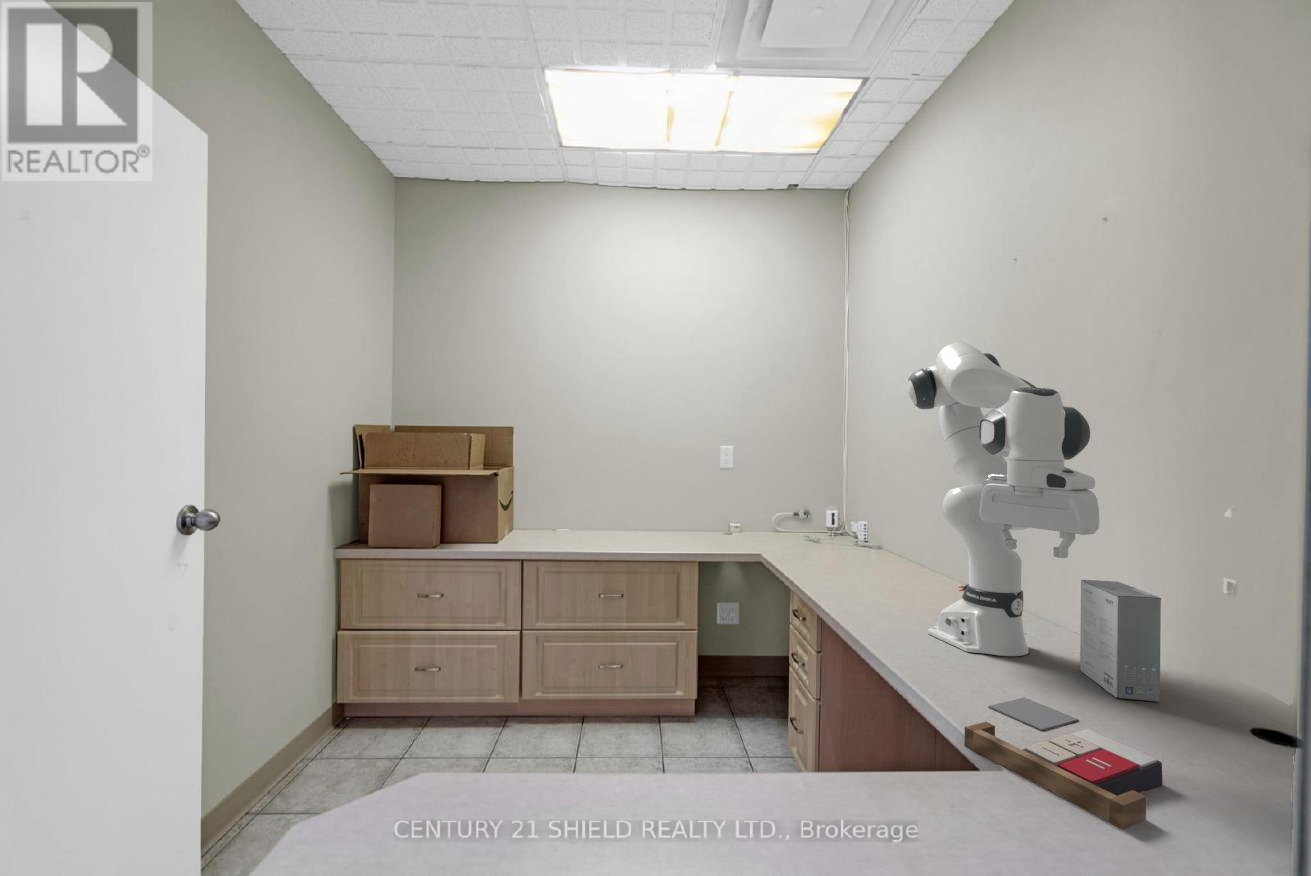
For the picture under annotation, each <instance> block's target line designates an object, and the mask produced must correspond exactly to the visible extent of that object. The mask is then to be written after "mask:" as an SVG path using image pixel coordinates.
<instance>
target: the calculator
mask: <svg viewBox="0 0 1311 876" xmlns="http://www.w3.org/2000/svg"><path fill="white" fill-rule="evenodd" d="M1022 750H1024V751H1026V752H1028V753H1030V754H1032V755H1034V756H1036V757H1038V758H1040V759H1042V760H1044V761H1046V762H1048V763H1050V764H1052V765H1055V766H1057V767H1059V768H1061V769H1063V770H1065V771H1067V772H1069V773H1071V774H1073V775H1075V776H1077V777H1079V778H1081V779H1083V780H1085V781H1087V782H1089V783H1092V784H1094V785H1096V786H1098V787H1100V788H1102V789H1104V790H1106V791H1108V792H1110V793H1112V794H1114V795H1116V796H1118V795H1121V794H1123V793H1126V792H1129V791H1131V790H1133V791H1136V792H1138V793H1140V792H1147V791H1150V790H1153V789H1157V788H1160V787H1163V763H1162V762H1161V761H1160V760H1157V758H1155V757H1153V756H1151V755H1148V754H1145V753H1143V752H1141V751H1139V750H1136V749H1134V748H1132V747H1130V746H1127V745H1125V744H1122V743H1120V742H1118V741H1116V740H1114V739H1111V738H1108V737H1107V736H1104V735H1102V734H1100V733H1097V732H1095V731H1092V730H1090V729H1086V728H1085V729H1082V730H1080V731H1077V732H1074V733H1066V734H1063V735H1060V736H1057V737H1053V738H1051V739H1049V740H1048V741H1047V740H1045V741H1041V742H1038V743H1034V744H1031V745H1028V746H1025V748H1024V749H1022Z"/></svg>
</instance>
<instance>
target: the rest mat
mask: <svg viewBox="0 0 1311 876" xmlns="http://www.w3.org/2000/svg"><path fill="white" fill-rule="evenodd" d="M988 709H991V710H993V711H995V712H997V713H999V714H1002V715H1004V716H1006V717H1009V718H1011V719H1014V720H1016V721H1017V722H1020V723H1022V724H1024V725H1027V726H1029V727H1031V728H1034V729H1036V730H1038V731H1040V732H1043V731H1047V730H1051V729H1054V728H1058V727H1062V726H1065V725H1069V724H1072V723H1075V722H1079V718H1077V717H1074V716H1072V715H1070V714H1067V713H1064V712H1062V711H1059V710H1056V709H1054V708H1052V707H1051V706H1047V705H1044V704H1042V703H1039V702H1037V701H1035V700H1032V699H1029V698H1028V697H1020V698H1015V699H1012V700H1007V701H1003V702H999V703H996V704H991V705H988Z"/></svg>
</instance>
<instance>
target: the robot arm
mask: <svg viewBox="0 0 1311 876" xmlns="http://www.w3.org/2000/svg"><path fill="white" fill-rule="evenodd" d="M935 359H936V360H935V364H934V365H930V366H928V367H922V368H920V369H918V370H916V371H914V372H913V373H911V375H910V376H909V378H908V383H907V392H908V396H909V399H910V400H911V401H912V403H913V404H914V405H915V407H917V408H918V409H920V410H931V409H932V410H933V409H934V408H937V407H938V408H939V410H938V421H939V422H938V423H939V427H940V432H941V436H942V440H943V442H944V445H945V447H946V451H947V452H948V455H949V459H950V461H951V464H952V467H953V469H954V470H955V472H956V473H957V474H958V475H959V476H960V477H963V478H964V479H966V480H968V481H970V482H971V484H966V485H962V486H958V487H954V488H951V489H949V490H948V491H947V492H946V494H945V495H944V497H943V499H942V504H941V505H942V506H941V507H942V512H943V516H944V519H945V520H946V521H947V522H948V524H949V525H950V526H952V528H953V529H955V530H956V532H958V533H959V535H960V536H961V539H962V540H963V543H964V546H965V548H966V552H967V558H968V560H967V561H968V583H967V584H965V585H961V586H958V588H960V589H958V591H959V592H963V594H962V596H961V598H960V599H958V600H957V601H955V602H954V603H953V602H952V603H951V604H949V605H948V606H946V607H944V608H943V609H942V610H941V611H940V614H939V615H938V619H937V620H938V621H937V625H934V626H931V627H929V628H928V629H927V634H928V635H931V637H932V636H933V637H935V638H936V639H939V640H941V641H942V642H945V643H948V644H949V645H952V646H953V647H956V648H958V649H960V650H962V651H964V652H967V653H975V654H987V655H994V656H999V657H1001V656H1002V657H1020V656H1025V655H1027V654H1029V647H1028V645H1027V641H1026V637H1025V631H1024V624H1023V610H1024V591H1023V590H1022V559H1021V556H1020V555H1019V554H1018V553H1017V552H1016V551H1014V550H1016V549H1017V547H1018V546H1017V543H1018V541H1017V540H1018V539H1017V538H1016V539H1015V538H1013V535H1012V534H1011V532H1010V531H1017V530H1018V531H1019V530H1021V531H1023V530H1026V529H1030V528H1031V529H1038V530H1044V531H1045V530H1046V531H1053V532H1058V533H1059V539H1062V540H1061V541H1060V543H1059V544H1058V546H1053V557H1054V558H1060V559H1068V558H1069V548H1070V547H1071V545H1072V544H1073V543H1074V541H1075V540H1076V535H1081V536H1086V535H1088V536H1089V535H1093V534H1095V533H1096V532H1097V531H1098V530H1099V529H1100V508H1099V507H1100V506H1099V500H1098V497H1097V495H1096V494H1095V493H1094V492H1093V491H1092V490H1093V489H1095V486H1096V479H1095V478H1094V477H1093V476H1091V475H1088V474H1084V473H1082V472H1079V471H1076V470H1073V469H1072V468H1068V467H1066V466H1065V460H1066V461H1069V460H1071V459H1073V458H1075V457H1076V456H1078V455H1079V454H1080V453H1082V452H1083V450H1084V449H1085V448H1086V447H1087V446H1088V444H1089V442H1090V439H1091V429H1090V424H1089V422H1088V420H1087V419H1086V417H1085V416H1084V415H1083V414H1082V413H1081V412H1080V411H1079V410H1078V409H1076V408H1074V407H1072V406H1066V405H1065V406H1064V404H1063V401H1062V398H1061V393H1060V392H1059V391H1057V390H1055V389H1053V388H1047V387H1036V386H1035V385H1034V384H1032V383H1031V382H1030V381H1027V380H1025V379H1023V378H1021V377H1020V376H1017V375H1015V374H1013V373H1011V372H1010V371H1007V370H1005V369H1004V368H1002V366H1001V364H1000V362H999V361H998V359H997V358H996V357H995V355H993V354H992V353H984V352H982V351H981V350H980V349H978V348H976V347H975V346H973V345H971V344H968V343H967V342H961V341H959V342H956V341H955V342H953V343H952V342H951V343H949V344H947V345H945V346H944V347H943V348H942V349H941V350H939V352H938V354H937V356H936V358H935ZM982 408H983V409H984V408H986V409H991V410H990V411H988V412H987V413H986V414H985V415H984V413H983V411H982ZM1005 457H1006V459H1005Z"/></svg>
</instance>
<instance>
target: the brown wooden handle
mask: <svg viewBox="0 0 1311 876" xmlns="http://www.w3.org/2000/svg"><path fill="white" fill-rule="evenodd" d="M963 745H964V747H966V748H968V749H970V750H972V751H974V752H976V753H977V754H979V755H981V756H984V757H985V758H987V759H989V760H991V761H992V762H995V763H997V764H999V765H1001V766H1002V767H1004V768H1006V769H1008V770H1009V771H1012V772H1013V773H1016V774H1018V775H1020V776H1022V777H1023V778H1025V779H1027V780H1029V781H1030V782H1033V783H1034V784H1037V785H1039V787H1040V786H1041V787H1042V788H1043V789H1046V790H1048V791H1050V792H1052V793H1054V794H1056V795H1057V796H1060V797H1061V798H1063V799H1065V800H1067V801H1068V802H1070V803H1072V804H1075V805H1076V806H1079V807H1081V808H1083V809H1084V810H1086V811H1088V812H1089V813H1092V814H1094V815H1096V816H1097V817H1099V818H1101V819H1104V820H1105V821H1107V822H1109V823H1111V824H1112V825H1115V826H1117V827H1118V828H1120V829H1122V830H1125V829H1127V828H1129V827H1131V826H1134V825H1136V824H1138V823H1142V822H1143V821H1144V822H1145V820H1147V796H1146V795H1144V794H1142V793H1140V792H1136V791H1133V790H1131V791H1129V792H1126V793H1123V794H1121V795H1118V796H1116V795H1114V794H1112V793H1110V792H1108V791H1106V790H1104V789H1102V788H1100V787H1098V786H1096V785H1094V784H1092V783H1089V782H1087V781H1085V780H1083V779H1081V778H1079V777H1077V776H1075V775H1073V774H1071V773H1069V772H1067V771H1065V770H1063V769H1061V768H1059V767H1057V766H1055V765H1052V764H1050V763H1048V762H1046V761H1044V760H1042V759H1040V758H1038V757H1036V756H1034V755H1032V754H1030V753H1028V752H1026V751H1024V750H1023V749H1022V748H1019V747H1017V746H1015V745H1014V744H1011V743H1009V742H1007V741H1005V740H1004V739H1001V738H999V737H997V736H996V725H994V724H992V723H990V722H988V721H983V722H979V723H975V724H972V725H971V724H970V725H967V726H964V744H963Z"/></svg>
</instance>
